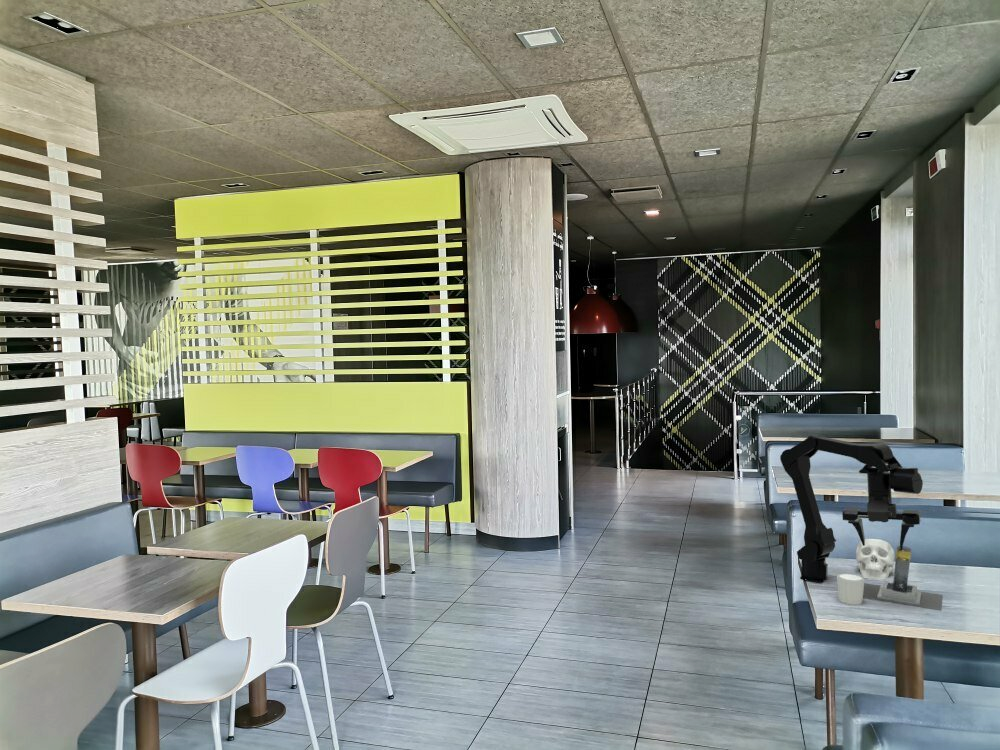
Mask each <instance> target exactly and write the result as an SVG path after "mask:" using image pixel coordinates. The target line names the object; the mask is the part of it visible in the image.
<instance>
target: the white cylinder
mask: <svg viewBox="0 0 1000 750" xmlns="http://www.w3.org/2000/svg"><path fill="white" fill-rule="evenodd" d="M865 578H866V577H864V576H862V575H858V574H855V573H839V574H837V575H836V581H837V593H838V601H839V602H841V603H843V604H847V605H854V606H855V605H861V604H863V599H864V598H863V590H864V583H865Z"/></svg>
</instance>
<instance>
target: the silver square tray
mask: <svg viewBox="0 0 1000 750" xmlns="http://www.w3.org/2000/svg"><path fill="white" fill-rule="evenodd" d="M880 586H881V587H880V590H879V593H878V595H877V599H879V600H885V601H892V602H898V603H904V604H910V605H917V606H920V600H921V592H922V591H920V592H918V591H919V590H918V586H917V585H913V584H912V585H911V584H907V592H903V591H897V590H892V589H893V581H884V582H883V585H880Z"/></svg>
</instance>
